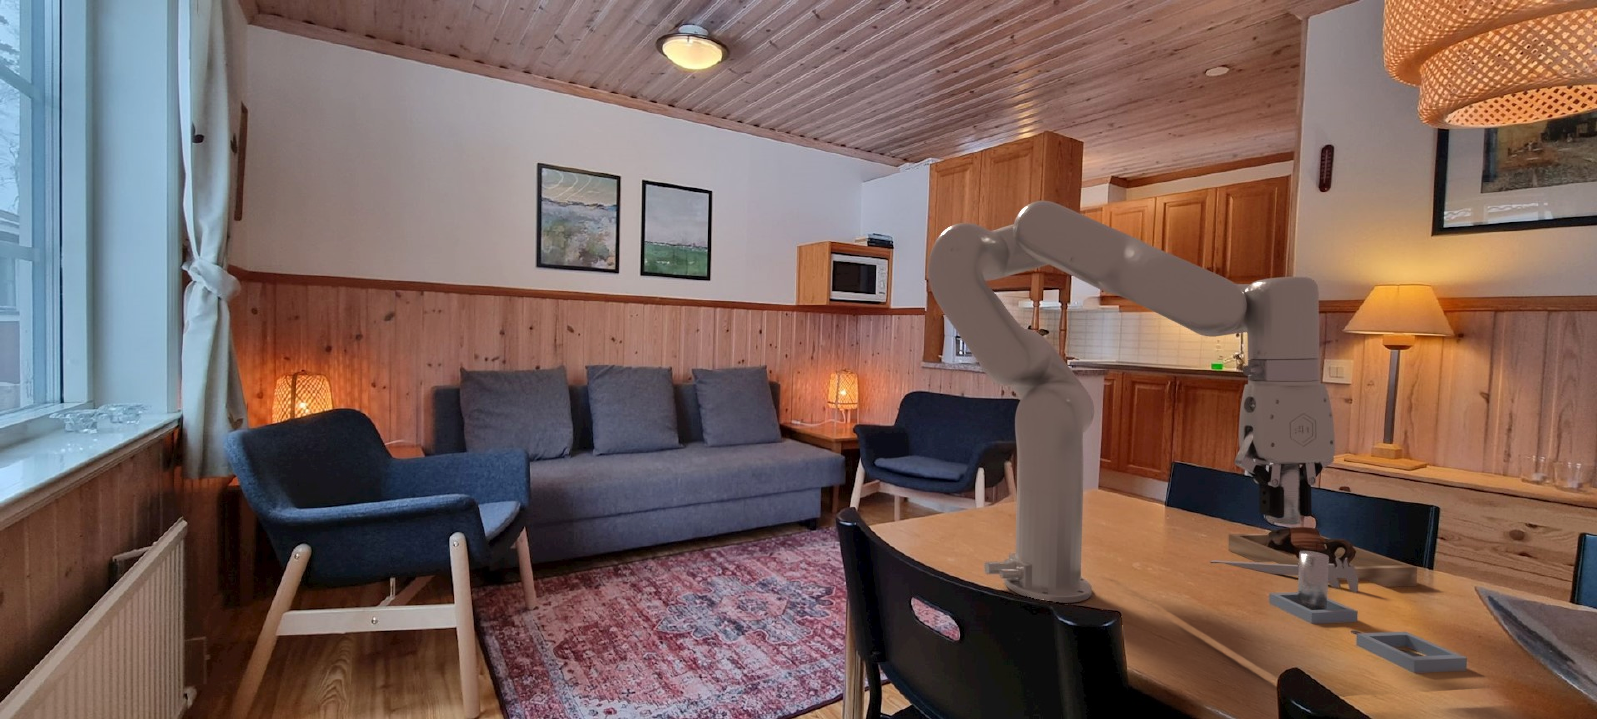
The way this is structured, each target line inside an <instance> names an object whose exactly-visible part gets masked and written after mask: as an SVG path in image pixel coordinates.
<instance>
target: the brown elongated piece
mask: <svg viewBox="0 0 1597 719" xmlns="http://www.w3.org/2000/svg"><path fill="white" fill-rule="evenodd" d="M1320 536H1321V537H1323V538H1324V539H1331V538H1329V537H1326V536H1322V535H1321V534H1320ZM1269 540H1270V537H1269V532H1268V533H1229V534H1228V545H1227V546H1228V549H1227V550H1228V551H1229V552H1232V553H1234V554H1236V555H1239V556H1241V557H1244V558H1245V559H1248V560H1250V561H1253V562H1254V563H1271V562H1273V563H1275V564H1289V565H1298V563H1299V559H1298V558H1297V557H1296V556H1292V555H1291V554H1288V553H1286V552H1283V551H1279V550H1274V549H1272V548H1270V547H1267V544H1268V541H1269ZM1324 546H1325V548H1326V549H1327V546H1326V544H1324ZM1353 548H1354V549H1355V550H1356V553H1355V557H1354V558H1353V560H1352V561H1351V562H1350V563H1349V565H1353V566H1354V567H1355V570H1356V573H1357V576H1358V581H1361V580H1363V581H1366V582H1369V583H1372V584H1375V585H1378V586H1380V587H1383V588H1388V587H1415V586H1417V583H1418V582H1417V581H1418V567H1417V566H1414V565H1412V564H1408V563H1407V562H1406V563H1405V562H1402V561H1400V560H1396V559H1393V558H1390V557H1387V556H1384V555H1381V554H1378V553H1376V552H1372V551H1369V550H1367V549H1363V548H1361V547H1360V548H1359V547H1357V546H1354V545H1353ZM1344 553H1345V549H1344V548H1342V547H1341V548H1338V549H1337V550H1336V552H1335V556H1336V557H1337V558H1340V557H1342V556H1343V554H1344ZM1338 580H1339V581H1347V578H1338Z"/></svg>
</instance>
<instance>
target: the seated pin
mask: <svg viewBox="0 0 1597 719" xmlns="http://www.w3.org/2000/svg"><path fill="white" fill-rule="evenodd" d="M1328 567H1329V556H1327V555H1325V554H1322V553H1318V552H1313V551H1300V552H1299V576H1298V575H1297V576H1298V578H1297V579H1298V582H1297V592H1298V601H1297V604H1300V605H1302V606H1304V607H1306V608H1308V609H1310V610H1327V598H1328V592H1329V590H1328V588H1329V582H1328Z"/></svg>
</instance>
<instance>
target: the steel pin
mask: <svg viewBox="0 0 1597 719" xmlns="http://www.w3.org/2000/svg"><path fill="white" fill-rule="evenodd" d="M1300 467H1301V465H1300V463H1286V464H1281V469H1280V481H1279V485H1278V486H1280V487H1283V489H1284V517H1283V518H1275V517H1272V516H1269V521H1270V522H1272V523H1277V524H1282V525H1289V526H1290V525H1295V526H1296V525H1300V524H1301V515H1300Z"/></svg>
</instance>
